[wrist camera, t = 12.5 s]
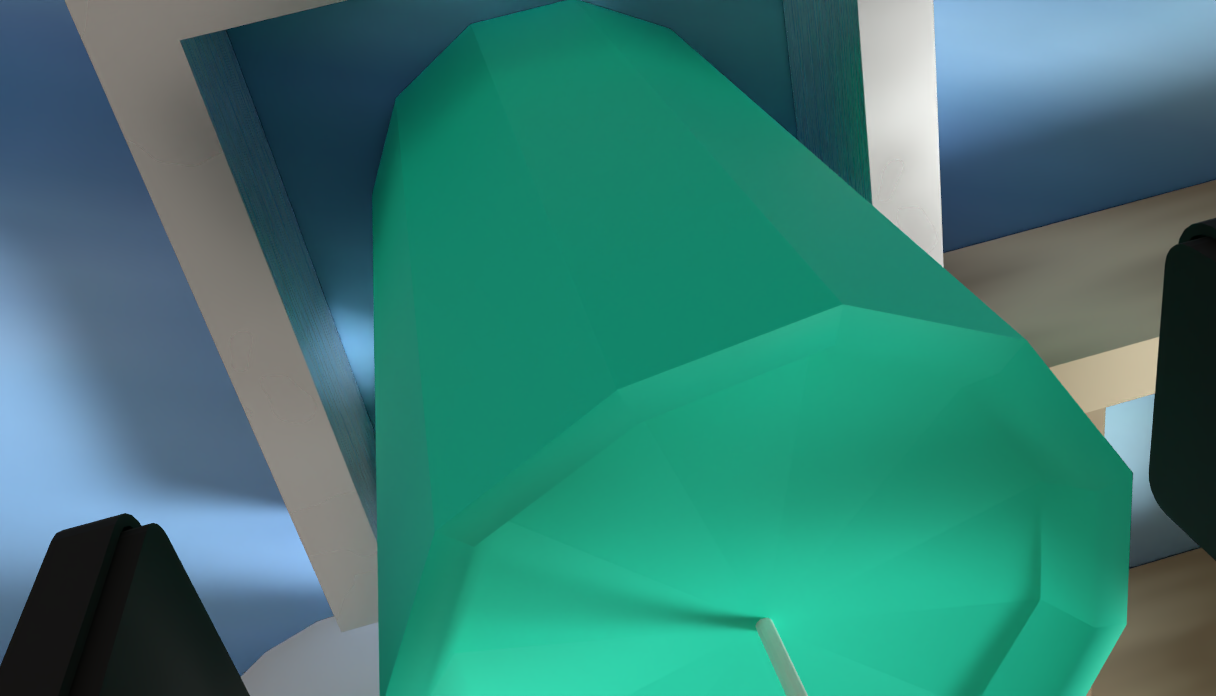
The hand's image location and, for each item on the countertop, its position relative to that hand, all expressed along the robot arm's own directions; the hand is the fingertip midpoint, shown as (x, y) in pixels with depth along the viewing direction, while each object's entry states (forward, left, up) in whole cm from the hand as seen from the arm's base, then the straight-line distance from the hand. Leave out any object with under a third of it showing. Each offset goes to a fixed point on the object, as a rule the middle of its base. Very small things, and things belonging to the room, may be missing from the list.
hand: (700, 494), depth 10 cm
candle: (0, 0, -9) cm, 9 cm away
